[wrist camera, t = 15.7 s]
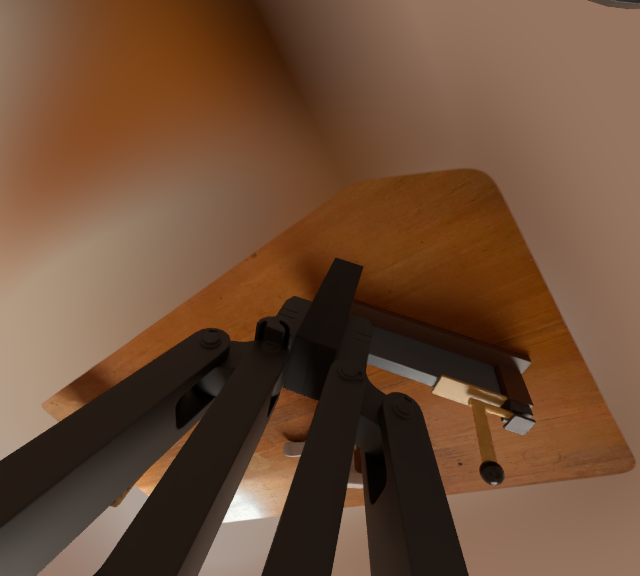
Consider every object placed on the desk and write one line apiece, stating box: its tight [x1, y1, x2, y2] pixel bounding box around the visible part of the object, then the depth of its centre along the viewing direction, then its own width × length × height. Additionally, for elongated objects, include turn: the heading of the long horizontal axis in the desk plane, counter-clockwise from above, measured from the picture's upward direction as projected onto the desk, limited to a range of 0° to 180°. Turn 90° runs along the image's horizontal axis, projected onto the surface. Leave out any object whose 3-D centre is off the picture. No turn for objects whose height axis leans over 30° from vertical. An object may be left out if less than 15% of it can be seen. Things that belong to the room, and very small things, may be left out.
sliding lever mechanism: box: [349, 300, 536, 436], centre depth 43 cm, size 29×7×9 cm, turn 77°
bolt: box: [468, 397, 522, 486], centre depth 35 cm, size 7×2×10 cm, turn 77°
